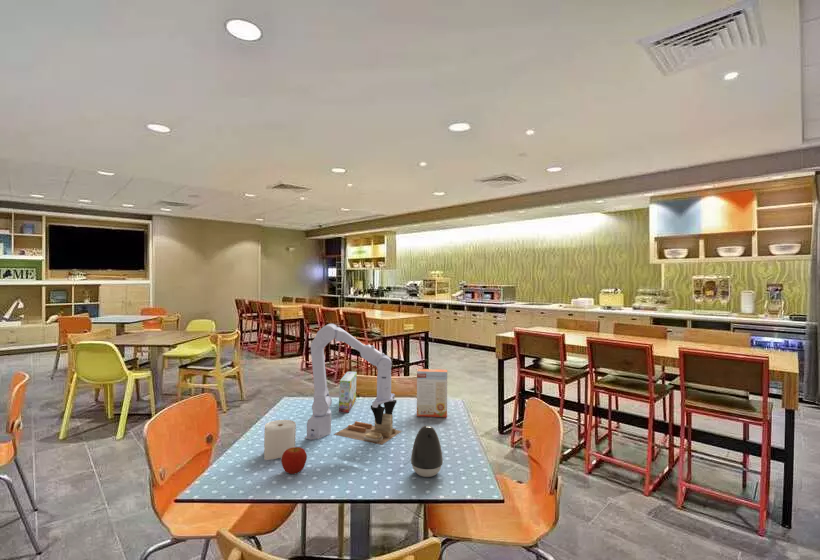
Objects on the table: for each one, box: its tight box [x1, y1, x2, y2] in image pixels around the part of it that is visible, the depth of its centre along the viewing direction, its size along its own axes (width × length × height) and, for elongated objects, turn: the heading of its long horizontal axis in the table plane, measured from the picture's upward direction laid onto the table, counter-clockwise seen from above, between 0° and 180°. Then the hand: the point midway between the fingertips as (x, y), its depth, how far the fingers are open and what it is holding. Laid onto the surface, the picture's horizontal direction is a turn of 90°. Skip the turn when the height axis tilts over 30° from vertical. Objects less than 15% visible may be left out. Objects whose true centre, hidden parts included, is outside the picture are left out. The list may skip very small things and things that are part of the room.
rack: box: [333, 421, 403, 446], centre depth 165 cm, size 16×22×3 cm
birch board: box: [374, 412, 394, 435], centre depth 165 cm, size 2×7×8 cm, turn 64°
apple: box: [280, 446, 308, 475], centre depth 133 cm, size 8×8×8 cm
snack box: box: [338, 371, 358, 414], centre depth 205 cm, size 21×6×15 cm, turn 179°
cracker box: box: [416, 368, 448, 418], centre depth 192 cm, size 14×6×21 cm, turn 84°
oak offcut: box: [365, 432, 382, 439], centre depth 159 cm, size 4×5×1 cm
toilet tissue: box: [263, 419, 297, 461], centre depth 147 cm, size 11×12×10 cm
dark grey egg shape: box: [410, 425, 444, 478], centre depth 133 cm, size 10×10×15 cm
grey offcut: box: [364, 436, 383, 443], centre depth 159 cm, size 4×6×1 cm, turn 64°
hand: (383, 421), depth 165 cm, fingers open, 7 cm apart
